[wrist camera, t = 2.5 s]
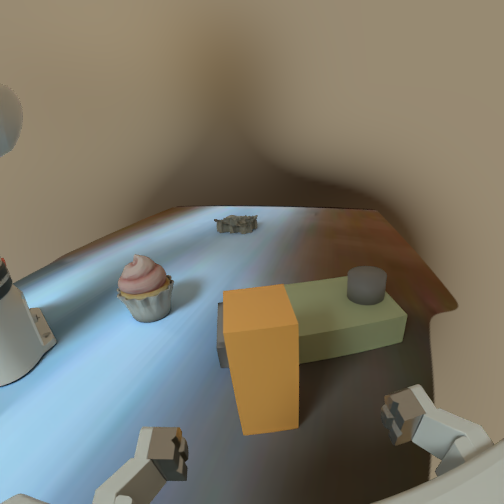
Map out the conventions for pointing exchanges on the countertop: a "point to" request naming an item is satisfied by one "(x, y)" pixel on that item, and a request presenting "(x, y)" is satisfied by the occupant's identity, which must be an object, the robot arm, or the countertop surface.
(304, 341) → the green drawer box
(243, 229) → the rocky terrain model
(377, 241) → the countertop surface
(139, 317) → the cupcake
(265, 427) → the tall orange pillar
